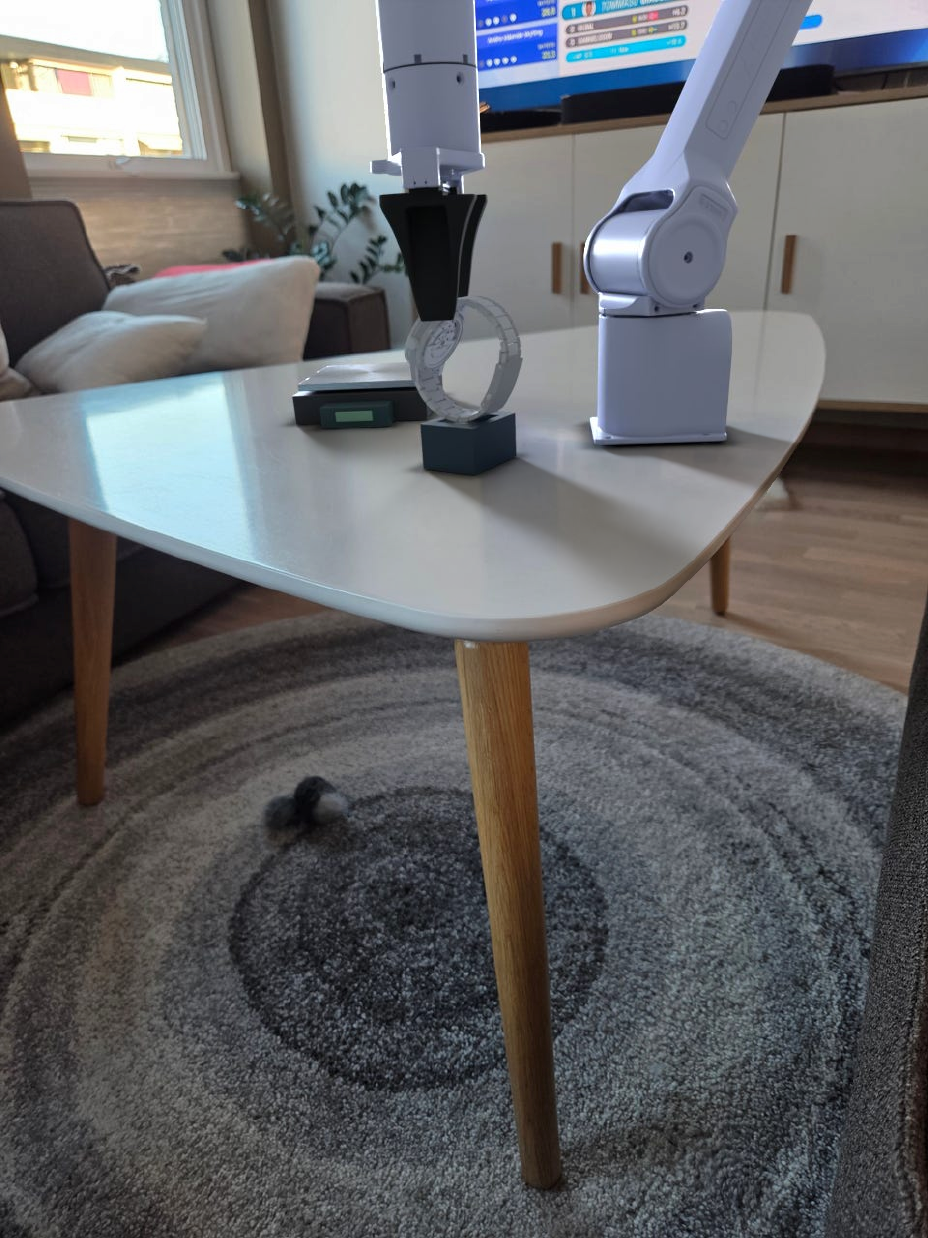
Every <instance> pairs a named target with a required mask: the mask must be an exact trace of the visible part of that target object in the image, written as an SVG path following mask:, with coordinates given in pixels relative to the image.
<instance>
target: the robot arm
mask: <svg viewBox="0 0 928 1238" xmlns="http://www.w3.org/2000/svg"><path fill="white" fill-rule="evenodd" d="M813 1H814V0H722V1H721V3H720V5H719V7H718V9H717V12H716V14H715V16H714V19H713V21H712V23H711V25H710V28H709V30H708V31H707V34H706V37H705V39H704V40H703V43H702V45H701V48H700V50H699V52H698V54H697V56H696V59H695V61H694V64H693V65H692V68H691V70H690V73H689V74H688V77H687V79H686V82H685V83H684V86H683V88H682V90H681V93H680V94H679V96H678V100H677V102H676V104H675V106H674V108H673V111H672V112H671V115H670V117H669V120H668V121H667V124H666V125H665V129H664V131H663V133H662V135H661V137H660V140H659V142H658V144H657V147H656V149H655V151H654V153H653V155H652V156H651V157H650V158H649V160H647V162H646V163H645V164H644V165H643V166H642V167H641V168H640V169H639V170H638V171H637V172H636V173H635V174H634V175H633V176H632V177H631V178H630V179H629V180H628V181H627V182H626V183H625V185H624V186H623V187H622V188H621V189H622V190H621V191H620V194H619V197H618V198H617V200H616V202H615V204H614V205H613V207H612V208H611V210H610V211H609V212H608V213H607V214H606V215H604V217H602V218H601V219H600V220H599V221H597V223H596V224H595V225H594V226H593V227H592V230H591V231H590V232H589V235H588V237H587V240H586V242H585V246H584V251H583V269H584V274H585V277H586V280H587V282H588V284H589V285H590V287H591V288H592V290H593V291H594V293H596V294H597V295H598V312H599V314H598V349H597V351H598V353H597V355H598V359H597V361H598V362H597V414H596V416H591V417H590V418H589V426H590V429H591V434H592V439H593V443H594V444H595V445H598V446H610V445H611V446H612V445H613V446H614V445H615V446H616V445H640V444H642V445H646V444H675V443H705V442H709V443H710V442H724V441H727V437H728V434H727V433H726V427H727V415H728V405H729V404H728V403H729V391H730V379H731V368H732V367H731V366H732V355H733V352H732V351H733V328H732V319H731V315H730V313H729V311H728V310H726V309H721V308H720V309H719V308H718V309H717V308H716V309H715V308H714V309H705V307H706V305H705V304H706V298H707V297H708V296H709V295H710V294H711V293H712V292H713V290H714V288H715V287H716V286H717V284H718V283H719V280H720V279H721V276H722V274H723V271H724V268H725V263H726V258H727V257H726V256H727V245H728V239H729V235H730V231H731V228H732V226H733V223H734V221H735V219H736V217H737V215H738V213H739V206H738V204H737V203H738V202H737V201H736V198H735V196H734V195H733V193H732V190H731V188H730V186H729V184H728V181H729V179H730V177H731V175H732V173H733V171H734V169H735V166H736V165H737V162H738V160H739V158H740V156H741V154H742V151H743V149H744V147H745V145H746V143H747V141H748V139H749V136H750V135H751V133H752V130H753V128H754V126H755V124H756V122H757V120H758V118H759V116H760V113H761V111H762V110H763V107H764V105H765V103H766V101H767V98H768V96H769V95H770V92H771V90H772V88H773V86H774V83H775V81H776V79H777V77H778V75H779V73H780V71H781V69H782V66H783V65H784V63H785V61H786V58H787V56H788V54H789V52H790V50H791V48H792V45H793V43H794V42H795V39H796V37H797V35H798V33H799V31H800V28H801V26H802V25H803V23H804V19H805V18H806V16H807V13H808V12H809V9H810V7H811V6H812V3H813ZM375 7H376V20H377V30H378V31H377V32H378V42H379V43H378V44H379V45H378V46H379V56H380V67H381V69H380V70H381V77H382V79H381V80H382V88H383V103H384V110H385V111H384V114H385V125H386V126H385V127H386V138H387V149H388V158H386V159H376V160H371V161H370V162H369V165H370V173H371V174H373V175H388V176H391V177H392V176H394V177H401V180H402V188H403V189H405V190H408V192H398V193H397V192H396V193H386V194H385V193H383V194H378V196H377V199H378V206H379V208H380V211H381V214H383V216H384V218H385V220H386V221H387V223H388V225H389V227H390V229H391V231H392V233H393V235H394V238H395V239H396V243H397V245H398V248H399V250H400V254H401V256H402V259H403V262H404V264H405V269H406V270H405V271H406V274H407V278H408V281H409V285H410V289H411V293H412V297H413V302H414V304H415V309H416V311H417V314H418V318H419V317H420V320H421V322H428V321H448V320H454V317H455V313H456V308H457V301H458V298H461V297H466V296H469V293H470V284H471V275H472V265H473V256H474V250H475V244H476V239H477V235H478V231H479V227H480V224H481V220H482V218H483V216H484V213H485V210H486V208H487V205H488V202H489V197H488V195H487V194H486V193H483V194H482V193H480V194H475V193H465V191H464V190H465V189H464V188H465V187H464V176H465V175H468V174H471V173H475V172H478V171H482V170H484V169H485V164H486V163H485V154H484V153H482V149H481V148H482V146H481V121H480V99H479V74H478V72H479V71H478V55H477V53H478V51H477V33H476V32H477V31H476V30H477V29H476V27H477V26H476V6H475V0H375Z"/></svg>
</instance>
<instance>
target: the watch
mask: <svg viewBox="0 0 928 1238" xmlns="http://www.w3.org/2000/svg"><path fill="white" fill-rule="evenodd" d="M468 308H471V309H473V310H476V311H477V312H478V313H479V314H481V315H482V316H483V317H484V318H486V319H487V321H488V322H489V323H490V325H491V326H492V328H493V329H494V331H495V333H496V335H497V338H498V340H499V341H500V342H499V347H500V349H499V351H498V362H497V363H496V364H495V367H494V372H493V374H492V378H491V381H490V384H489V387H488V389H487V391H486V393H485V395H484V397H483V399H482V400H481V402H480V407H481V408H480V409H477V408H476V409H475V408H463V407H461V406H460V405H458V404H456V403H454V401H453V400H452V399H451V398H450V396H449V395H446V392H445V390H444V387H443V388H442V386H441V385H438V384H439V383H440V382H439V379H438V376H439V375H441V374H442V375H443V372H444V368H445V365H446V362H447V361H448V360H449V359H450V357H451V356H452V355H453V353H455V351H456V349H457V347H458V345H459V343H460V341H461V339H462V337H463V334H464V329H465V318H464V317H465V315H466V312H467V310H468ZM521 348H522V344H521V338H520V335H519V330H518V327H517V326H516V323H515V322H514V320H513V318H512V317H511V315H510V314H509V313H508V311H506V309H505V308H504V307H503V306H502V305H501V304H500V303H498V302H496V301H495V300H494V299H491V298H489V297H486V296H482V295H468V296H466V297H461V298H458V301H457V308H456V313H455V317H454V320H448V321H428V322H421V320H420V317H419V316H418V318H417V319H416V320H415V322H414V323H413V324H412V327H410V331H409V333H408V335H407V338H406V341H405V345H404V358H405V362H408V363H409V367H410V375H411V379H412V380H413V381H414V383H415V385H416V388H417V390H418V391H419V390H420V391H419V394H420V396H421V397H422V399H423V400H424V401H425V402H426V404H427V405H428V407H429V408H430V409H431V410H433V412H434V413H435V414H436V415H438V416H439V417H437V418H433V419H431V420H427V421H424V422H422V423H420V424H419V430H420V441H421V442H420V443H421V455H422V467H423V468H422V469H424V470H431V471H437V472H446V473H452V474H459V475H460V474H462V475H468V476H477V475H479V474H481V473H483V472H485V471H488V470H490V469H492V468H494V467H496V466H498V465H500V464H502V463H504V462H506V461H507V462H508V461H509V460H511V459H513V458H515V457H517V425H516V424H517V423H516V421H517V420H516V417H517V416H516V412H515V411H514V412H513V411H502V410H501V409H503V408H504V406H505V405H506V404H507V402H508V400H509V399H510V397H511V395H512V393H513V391H514V389H515V388H516V384H517V381H518V378H519V375H520V372H521V369H522V363H523V357H521V356H522V349H521ZM437 375H438V376H437ZM429 378H430V379H429ZM422 380H423V381H422ZM434 390H435V391H434ZM431 391H432V392H431ZM428 392H429V393H428Z"/></svg>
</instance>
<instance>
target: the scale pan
mask: <svg viewBox="0 0 928 1238" xmlns="http://www.w3.org/2000/svg"><path fill="white" fill-rule="evenodd" d="M422 381H423V380H422ZM396 387H416V385H415V383H414V381H413V380H412V379H411V375H410V367H409V363H408V362H407V361H402V362H378V363H355V364H354V363H353V364H332V365H326V366H325V367H323V368H321V369H320V370H318V371H316V373H314V374H312V375H311V376H309V377H308V378H306V379H304V380H303V381H301V382H300V383H298V384H297V390H298V391H297V392H299V391H322V390H347V389H372V388H396Z"/></svg>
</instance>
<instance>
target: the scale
mask: <svg viewBox="0 0 928 1238" xmlns="http://www.w3.org/2000/svg"><path fill="white" fill-rule="evenodd" d="M437 376H438V375H437ZM429 379H430V378H429ZM438 379H439V382H440V383H439V384H438V385H441V386H442V388H443V389H444V387H443V384H444V383H443V373H442V374H441V375H439V376H438ZM419 391H420V390H419ZM419 391H418V390H417V388H416V387H396V388H372V389H347V390H322V391H297V392H296V393H295V394H293V395H292V396H291V399H292V407H293V413H294V421H295V425H315V424H321V429H323V430H331V429H332V430H333V429H359V428H360V429H361V428H386V427H387V428H388V427H391V425H392V424H393V423H394V422H401V421H402V422H404V421H429V418H430V417H431V415H432V413H433V412H434V411H433V410H431V409H430V408H429V407H428V405H427V404H426V402H425V401H424V400H423V399H422V397H421V396H420V394H419ZM434 391H435V390H434ZM431 392H432V391H431ZM428 393H429V392H428Z"/></svg>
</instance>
